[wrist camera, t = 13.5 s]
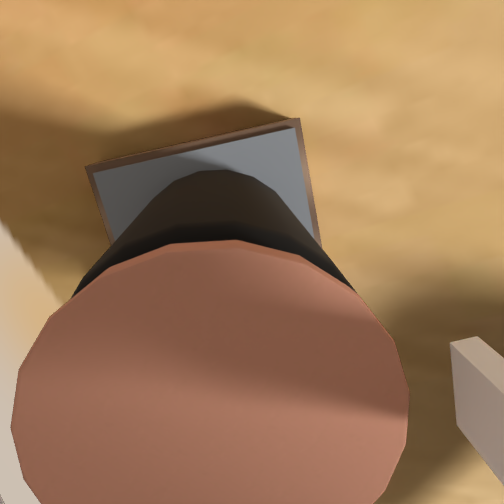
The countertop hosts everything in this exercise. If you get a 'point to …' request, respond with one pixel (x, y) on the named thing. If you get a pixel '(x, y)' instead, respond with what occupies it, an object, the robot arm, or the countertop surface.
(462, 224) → the countertop surface
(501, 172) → the countertop surface
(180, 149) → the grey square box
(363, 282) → the countertop surface
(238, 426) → the coffee jar
